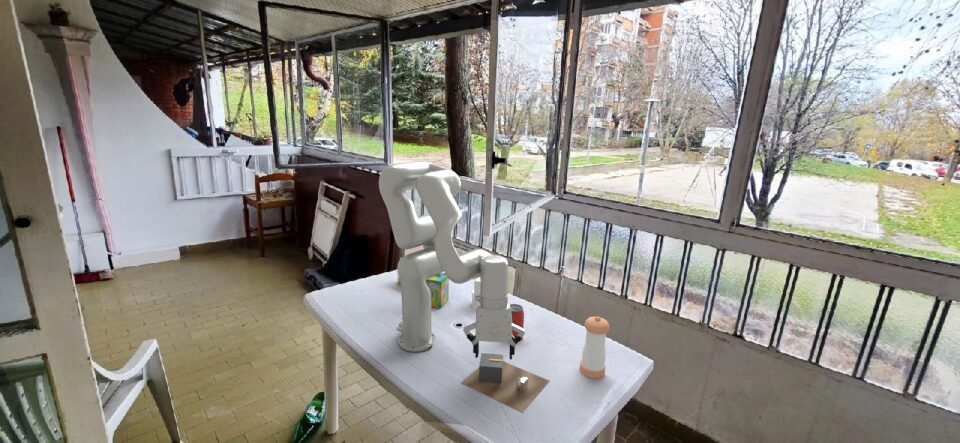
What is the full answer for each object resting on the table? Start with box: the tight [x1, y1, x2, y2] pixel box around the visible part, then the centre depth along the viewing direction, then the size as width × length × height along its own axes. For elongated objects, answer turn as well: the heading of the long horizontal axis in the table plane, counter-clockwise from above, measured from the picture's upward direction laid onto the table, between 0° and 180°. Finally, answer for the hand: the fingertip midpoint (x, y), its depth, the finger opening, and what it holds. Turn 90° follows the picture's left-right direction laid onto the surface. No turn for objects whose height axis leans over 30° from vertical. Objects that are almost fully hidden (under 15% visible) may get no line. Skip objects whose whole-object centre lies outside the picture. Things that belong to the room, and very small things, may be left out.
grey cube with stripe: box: [478, 352, 504, 383], centre depth 118 cm, size 6×6×5 cm
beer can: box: [509, 303, 525, 342], centre depth 139 cm, size 7×7×12 cm
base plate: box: [460, 360, 551, 414], centre depth 116 cm, size 20×16×2 cm
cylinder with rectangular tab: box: [471, 277, 480, 310], centre depth 164 cm, size 9×9×12 cm
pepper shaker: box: [579, 315, 611, 379], centre depth 120 cm, size 7×7×19 cm
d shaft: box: [516, 376, 528, 393], centre depth 113 cm, size 3×3×3 cm
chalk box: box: [426, 272, 450, 309], centre depth 165 cm, size 9×9×15 cm
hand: (493, 355), depth 117 cm, fingers open, 9 cm apart
